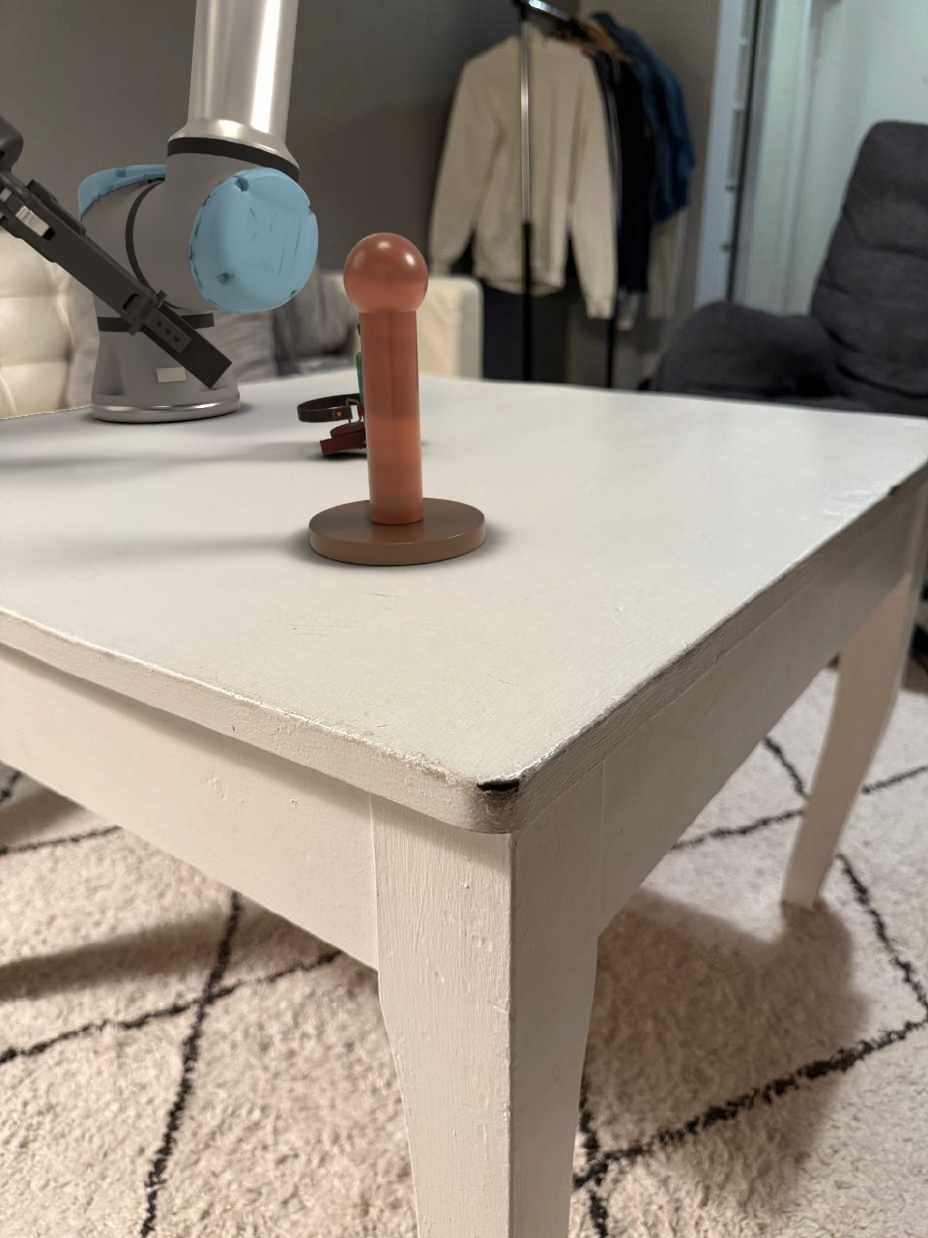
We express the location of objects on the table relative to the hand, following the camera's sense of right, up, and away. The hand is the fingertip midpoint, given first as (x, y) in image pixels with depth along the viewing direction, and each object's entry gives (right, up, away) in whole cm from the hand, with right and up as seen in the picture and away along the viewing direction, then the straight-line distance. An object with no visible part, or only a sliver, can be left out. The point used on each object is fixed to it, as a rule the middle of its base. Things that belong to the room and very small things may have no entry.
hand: (220, 374), depth 72 cm
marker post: (+16, -15, -20) cm, 29 cm away
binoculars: (+10, -5, +5) cm, 12 cm away
